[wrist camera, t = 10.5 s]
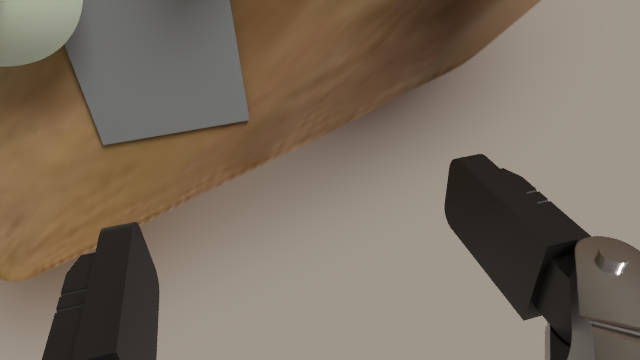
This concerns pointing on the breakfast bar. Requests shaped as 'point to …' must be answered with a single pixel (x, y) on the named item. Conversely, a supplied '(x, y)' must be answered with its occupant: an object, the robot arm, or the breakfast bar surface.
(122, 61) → the mat
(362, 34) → the breakfast bar surface
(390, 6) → the breakfast bar surface
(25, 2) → the lid
